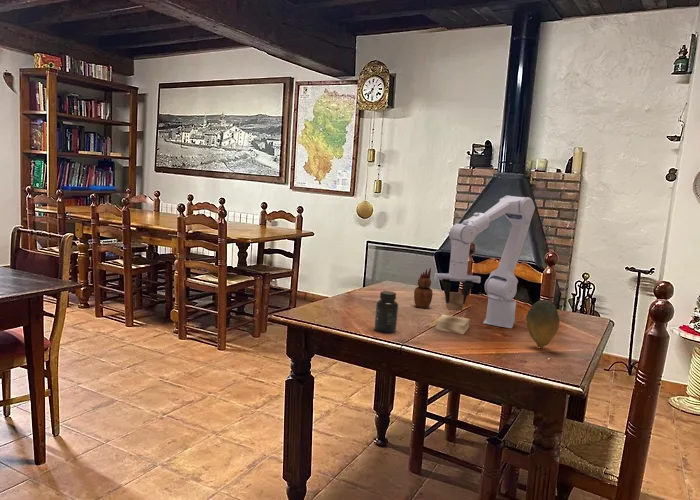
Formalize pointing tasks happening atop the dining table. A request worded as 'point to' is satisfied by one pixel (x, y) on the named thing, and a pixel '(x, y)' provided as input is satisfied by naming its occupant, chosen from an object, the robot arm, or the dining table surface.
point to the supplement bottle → (386, 313)
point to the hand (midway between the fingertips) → (454, 303)
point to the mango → (542, 322)
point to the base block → (452, 324)
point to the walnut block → (455, 301)
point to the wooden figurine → (423, 291)
